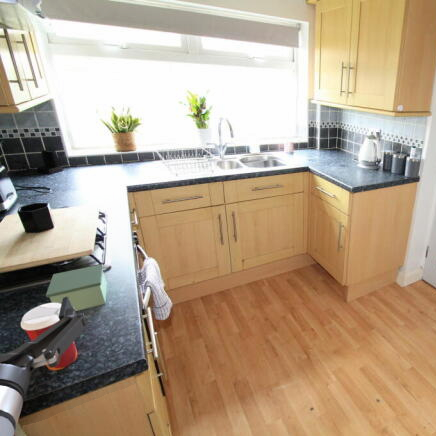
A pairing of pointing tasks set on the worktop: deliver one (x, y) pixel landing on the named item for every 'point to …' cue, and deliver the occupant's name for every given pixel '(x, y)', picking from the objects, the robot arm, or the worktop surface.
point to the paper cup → (42, 321)
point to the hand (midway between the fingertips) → (21, 314)
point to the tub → (79, 287)
